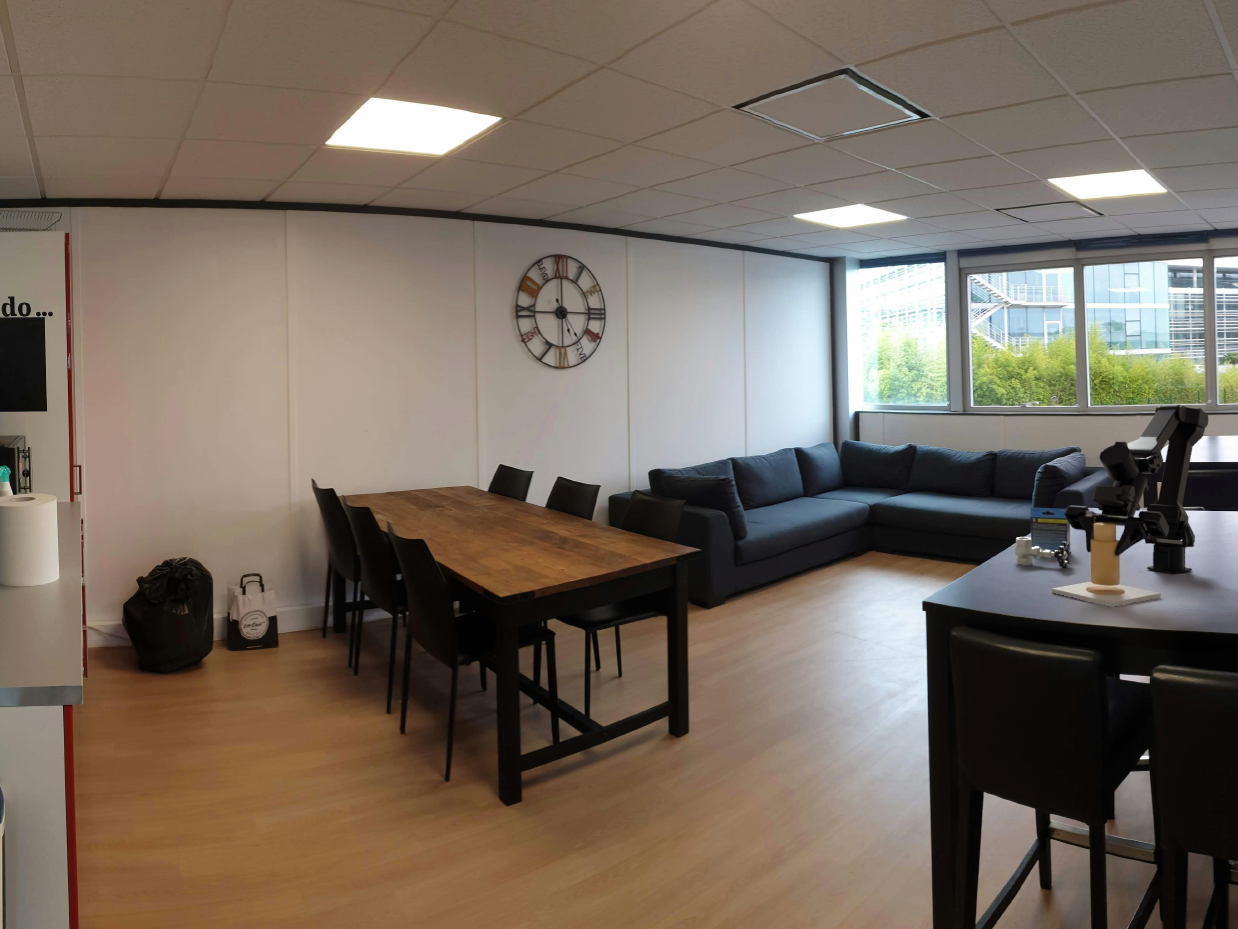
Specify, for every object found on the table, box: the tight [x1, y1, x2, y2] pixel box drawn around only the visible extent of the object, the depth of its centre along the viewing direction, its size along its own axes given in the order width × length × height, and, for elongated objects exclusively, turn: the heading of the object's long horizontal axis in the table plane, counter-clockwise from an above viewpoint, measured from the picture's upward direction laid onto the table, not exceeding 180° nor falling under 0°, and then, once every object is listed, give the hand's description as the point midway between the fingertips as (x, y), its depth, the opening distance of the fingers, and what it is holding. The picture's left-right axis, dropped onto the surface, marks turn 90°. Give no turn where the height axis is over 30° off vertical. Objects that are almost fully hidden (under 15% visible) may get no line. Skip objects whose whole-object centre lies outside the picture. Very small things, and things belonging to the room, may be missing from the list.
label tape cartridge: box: [1030, 506, 1071, 552], centre depth 213 cm, size 9×4×12 cm, turn 48°
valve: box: [1014, 536, 1072, 569], centre depth 199 cm, size 7×7×12 cm
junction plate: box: [1051, 581, 1162, 608], centre depth 169 cm, size 14×14×1 cm
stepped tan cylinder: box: [1090, 523, 1121, 586], centre depth 168 cm, size 5×5×12 cm
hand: (1102, 552), depth 168 cm, fingers closed on stepped tan cylinder, 5 cm apart
